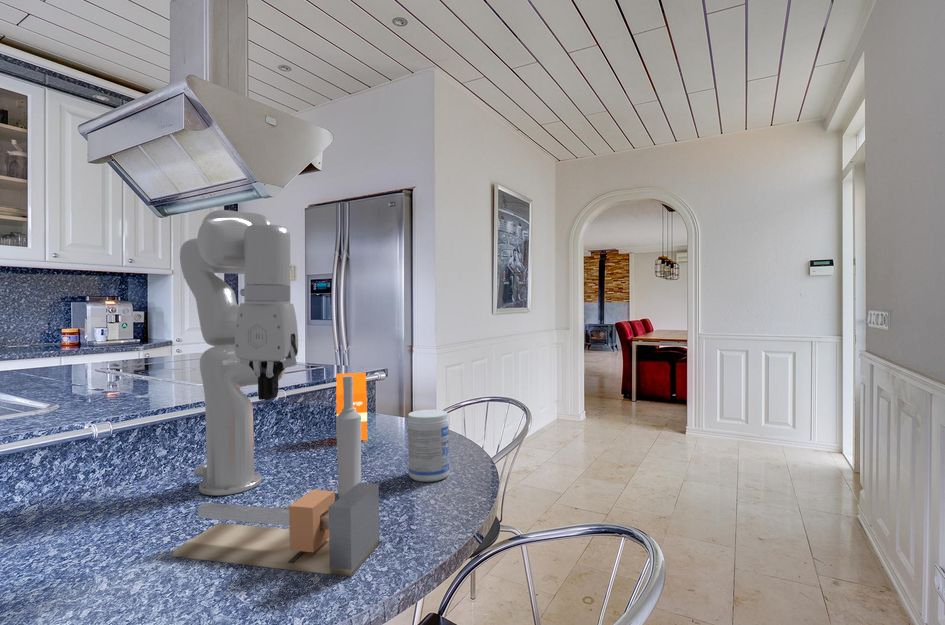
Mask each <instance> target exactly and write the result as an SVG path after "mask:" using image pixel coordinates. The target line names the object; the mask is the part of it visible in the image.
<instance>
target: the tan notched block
mask: <svg viewBox="0 0 945 625" xmlns="http://www.w3.org/2000/svg"><path fill="white" fill-rule="evenodd" d="M335 495H336V492H335V491H333V490H321V489H311V490H310V491H309V492H307V493H306V494H305V495H303V496H302V497H300V498H299V499H297V500H296V501H294V502H293V503H291V504H289V506H288V509H289V526H288V527H289V530H290V550H295V551H304V552H314V551H315V550H317V549H318V548H319V547H320V546H321V545H322V544H323V543H324V542H325V541H326V540H327V539H329V529H320V515H322V514H323V513H324V512H326V513H329V506H330V505H331V504H333V503H334V502H335V501H336V496H335Z"/></svg>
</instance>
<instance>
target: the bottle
mask: <svg viewBox="0 0 945 625" xmlns="http://www.w3.org/2000/svg"><path fill="white" fill-rule="evenodd" d="M343 399H344V408H343V409H342V412H341V413H340V414H339V415H338V416H337V415H336V417H335V423H336V424H335V425H336V426H335V428H336V452H337V454H336V456H337V477H338V478H337V481H338V484H337V485H338V486H337V487H336V490H337V495H338V498H340V497H342V496H343V495H344V494H345V493H347V492H348V491H349V490H350V489H352V488H353V487H354V486H355V485H357V484H358V483H362V442H361V415H360V414H359V413H357V412H356V411H355V408H354V407H353V376H343Z"/></svg>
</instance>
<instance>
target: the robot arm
mask: <svg viewBox="0 0 945 625" xmlns="http://www.w3.org/2000/svg"><path fill="white" fill-rule="evenodd" d="M179 261H180V268H181V272H182V276H183V278H184V280H185V282H186V285H187V286H188V288H189V289H190V291H191V292H192V295H193V297H194V299H195V302H196V308H197V315H198V320H199V326H200V331H201V334H202V339H203V340H204V342H205V343H206V344H207V345H209V346H212V347H210V348H207V349H206V350H204V352H202V354H201V355H200V359H199V369H200V370H199V372H200V376H201V381H202V387H203V394H204V408H205V446H206V448H205V449H206V450H205V452H206V464H199V465H198V466H197V467H196V468H197V469H195V470H194V471H193V475H194V476H195V477H202V481H201V482H200V484H199V485H198V492H200V493H201V495H202V494H203V495H205V496H206V495H207V496H217V497H218V496H227V495H228V496H229V495H233V494H239V493H242V492H245V491H248V490H251V489H253V488H256V487H258V485H260V484H261V483H262V481H263V478H262V474H261V473H259V472H256V471H255V448H254V446H255V442H254V406H253V404H252V401H251V400H250V398H249V397H248V396H247V395H245V393H244V392H243V391H242V390H241V388H242V387H247V386H256V385H257V392H258V396H257V397H258V400H260V401H263V400H264V401H270V400H273V399H276V398H277V397H278V395H279V394H278V393H279V381H280V380H282V379H283V377H284V375H285V373H286V368H291V367H294V366H296V365H297V363H298V362H297V358H296V357H297V356H298V352H299V332H298V331H299V330H298V321H297V315H296V310H295V306H294V303H291V234H290V231H289V229H288V228H287V227H285V226H282V225H278V224H271V221H270V220H269V219H268V217H267V216H265V215H263V214H260V213H256V212H246V211H236V210H227V209H219V210H218V209H217V210H213V211H211V212H209V213H207V214H206V215H205V217H204V218H203V220H202V223H201V225H200V226H199V229H198V232H197V237H196V238H192V239H188V240H186V241H184V243H183V244H182V245H181V248H180V251H179ZM216 274H232V275H233V274H234V275H243V276H244V277H243V278H244V279H243V280H244V282H243V284H244V285H243V286H244V287H243V288H241V289H240V291H239V294H240V296H241V297H244V298H243V300H244V302H241V303H239V304H237V297H236V293H235V292H234V290H233V289H232V288H231V286H230V285H228V283H227V282H226V281H224V280H223V279H221V278H220V277H219V276H218V275H216Z"/></svg>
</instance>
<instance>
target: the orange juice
mask: <svg viewBox="0 0 945 625" xmlns="http://www.w3.org/2000/svg"><path fill="white" fill-rule="evenodd" d="M366 374H367V373H366V372H349V373H347V372H346V373H336V390H335V392H336V403H335V404H336V417H337V416H338V415H339V414H340V413H341V412H342V409H343V408H344V399H343V376H353V407H354V408H355V411H356V412H357V413H359V414H360V415H361V440H367V441H368V408H367V406H368V396H367V376H366Z"/></svg>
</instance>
